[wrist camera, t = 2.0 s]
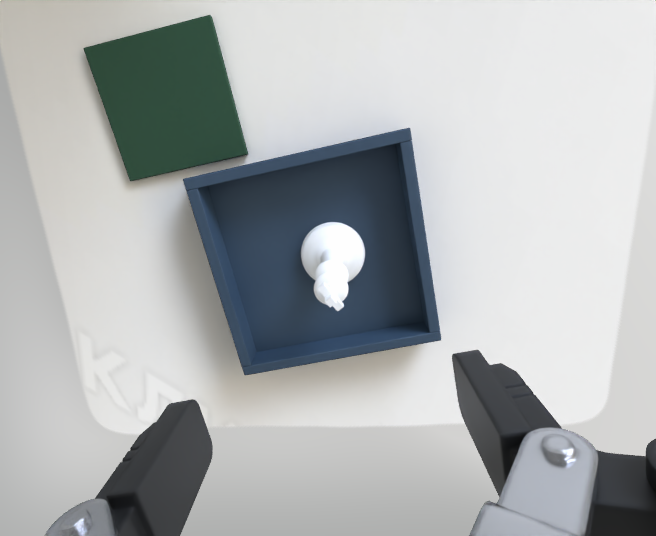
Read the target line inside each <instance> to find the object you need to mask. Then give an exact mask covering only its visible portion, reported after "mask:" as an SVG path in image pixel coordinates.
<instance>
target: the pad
mask: <svg viewBox="0 0 656 536" xmlns="http://www.w3.org/2000/svg"><path fill="white" fill-rule="evenodd" d="M84 51H85V54H86V57H87V60H88V62H89V65H90V68H91V71H92V74H93V77H94V79H95V82H96V85H97V88H98V91H99V94H100V97H101V99H102V102H103V105H104V108H105V111H106V114H107V116H108V119H109V122H110V125H111V128H112V131H113V133H114V136H115V139H116V142H117V145H118V148H119V150H120V153H121V156H122V159H123V162H124V165H125V167H126V170H127V173H128V176H129V179H130V181H134V180H138V179H142V178H147V177H151V176H155V175H160V174H164V173H169V172H173V171H177V170H182V169H186V168H190V167H195V166H199V165H204V164H208V163H212V162H217V161H221V160H225V159H230V158H234V157H238V156H243V155H247V154H248V152H247V148H246V144H245V141H244V137H243V133H242V129H241V125H240V122H239V118H238V114H237V110H236V107H235V103H234V99H233V95H232V91H231V88H230V84H229V80H228V76H227V72H226V69H225V65H224V61H223V57H222V53H221V50H220V46H219V42H218V38H217V34H216V31H215V27H214V23H213V19H212V17H211V15H208V16H204V17H200V18H196V19H192V20H189V21H185V22H181V23H177V24H173V25H170V26H166V27H162V28H158V29H154V30H151V31H147V32H143V33H139V34H135V35H132V36H128V37H124V38H120V39H116V40H113V41H109V42H105V43H101V44H97V45H94V46H90V47H86V48H84Z"/></svg>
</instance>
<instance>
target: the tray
mask: <svg viewBox="0 0 656 536" xmlns="http://www.w3.org/2000/svg"><path fill="white" fill-rule="evenodd" d="M411 140H412V138H411V131H410V128H406V129H402V130H397V131H393V132H388V133H384V134H380V135H375V136H371V137H366V138H362V139H357V140H353V141H349V142H344V143H340V144H335V145H331V146H327V147H322V148H318V149H313V150H309V151H305V152H300V153H296V154H291V155H287V156H283V157H278V158H274V159H269V160H265V161H260V162H256V163H252V164H247V165H243V166H238V167H234V168H230V169H225V170H221V171H216V172H212V173H208V174H203V175H199V176H194V177H190V178H186V179H183V181H184V185H185V188H186V190H187V194H188V197H189V200H190V204H191V207H192V210H193V213H194V216H195V220H196V223H197V226H198V229H199V232H200V235H201V239H202V242H203V245H204V248H205V251H206V254H207V258H208V261H209V264H210V267H211V270H212V274H213V277H214V280H215V283H216V286H217V289H218V293H219V296H220V299H221V302H222V305H223V308H224V312H225V315H226V318H227V321H228V324H229V328H230V331H231V334H232V337H233V340H234V343H235V347H236V350H237V353H238V356H239V359H240V363H241V366H242V368H243V371H244V375H250V374H255V373H261V372H266V371H272V370H278V369H283V368H289V367H294V366H300V365H306V364H311V363H317V362H322V361H328V360H333V359H339V358H345V357H350V356H356V355H361V354H367V353H373V352H378V351H384V350H389V349H395V348H400V347H406V346H412V345H417V344H423V343H428V342H434V341H440V340H441V334H440V327H439V321H438V314H437V307H436V300H435V294H434V287H433V280H432V273H431V267H430V260H429V253H428V246H427V240H426V233H425V226H424V220H423V213H422V206H421V199H420V193H419V186H418V179H417V172H416V166H415V159H414V152H413V145H412V141H411ZM328 222H338V223H342V224H345V225H347V226H349V227H351V228H352V229H354V230H355V231H356V232H357V233H358V234H359V236H360V237H361V239H362V241H363V244H364V247H365V259H364V263H363V266H362V268H361V270H360V272H359V273H358V274H357V275H356V276H355V277H354V278H353V279H352V280H350V281H349V282H347V284H348V294H347V296H346V298H345V299H344V300H343V301H342V303H343V304H344V307H343V308H342V309H340V310H339V311H337V310H336V309H335V308H334V307H333V306H332V307H329V306H328V305H326V304H323V303H321V302H320V301H319V300H318V299H317V298H316V296H315V293H314V284H315V281H316V280H314V279H313V278H312V277H310V276H309V274H308V273H307V272H306V270H305V268H304V266H303V263H302V259H301V247H302V244H303V241H304V239H305V237H306V236H307V234H308V233H309V232H310V231H311V230H312V229H314V228H315V227H317V226H318V225H321V224H324V223H328Z"/></svg>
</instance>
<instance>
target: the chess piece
mask: <svg viewBox="0 0 656 536" xmlns="http://www.w3.org/2000/svg"><path fill="white" fill-rule="evenodd" d="M301 259H302V263H303V266H304V268H305V270H306V272H307V273H308V274H309V276H310V277H312V278H313V279H314V280H316V281H315V284H314V293H315V296H316V298H317V299H318V300H319V301H320V302H321V303H323V304H326V305H328V306H329V307H332V306H333V307H334V308H335V309H336V310H337V311H339V310H340V309H342V308H343V307H344V304H343V303H342V301H343V300H344V299H345V298H346V296H347V294H348V284H347V282H349V281H350V280H352V279H353V278H354V277H355V276H356V275H357V274H358V273H359V272H360V270H361V268H362V266H363V263H364V259H365V247H364V244H363V241H362V239H361V237H360V236H359V234H358V233H357V232H356V231H355V230H354V229H352V228H351V227H349V226H347V225H345V224H342V223H338V222H328V223H324V224H321V225H318V226H317V227H315V228H314V229H312V230H311V231H310V232H309V233H308V234H307V236H306V237H305V239H304V241H303V244H302V247H301Z"/></svg>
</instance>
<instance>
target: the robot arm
mask: <svg viewBox="0 0 656 536" xmlns="http://www.w3.org/2000/svg"><path fill="white" fill-rule="evenodd" d="M452 362H453V369H454V375H455V382H456V389H457V396H458V402H459V406H460V410H461V414H462V417H463V419H464V422H465V424H466V426H467V428H468V430H469V432H470V435H471V437H472V439H473V441H474V443H475V446H476V448H477V450H478V452H479V454H480V456H481V458H482V461H483V463H484V465H485V467H486V469H487V471H488V474H489V476H490V478H491V480H492V482H493V484H494V486H495V489H496V491H497V493H498V495H499V500H498V502H497V503H496V504H495V503H493V502H490V501H487V502H486V503H484V505H483V506H482V508H481V510H480V512H479V514H478V517H477V519H476V521H475V524H474V526H473V528H472V530H471V533H470V535H469V536H656V439H654V440H653V441H651V442H650V443H649V444H648V445H647V448H646V456H635V455H623V454H613V453H605V452H601V451H597V450H596V449H595V448H594V446H593V445H592V444H591V443H590V442H589V441H588V440H586V439H585V438H583V437H582V436H580V435H578V434H576V433H574V432H571V431H568V430H565V429H562V428H561V427H560V425H559V424H558V423H557V422H556V420H555V419H554V418H553V417H552V415H551V414H550V413H549V412H548V410H547V409H546V408H545V407H544V405H543V404H542V403H541V402H540V400H539V399H538V398H537V397H536V396H535V395H534V394H533V392H532V391H531V389H530V388H529V387H528V386H527V385H526V384H525V382H524V381H523V379H522V378H521V377H520V376H519V374H518V373H517V372H516V371H514V370H512V369H511V368H509V367H507V366H505V365H503V364H501V363H500V364H494V365H489V364H488V363H487V361H486V360H485V358H484V357H483V356H482V354H481V353H480V351H479V350H473V351H468V352H462V353H456V354H453V355H452ZM211 459H212V441H211V438H210V435H209V433H208V430H207V427H206V424H205V421H204V418H203V415H202V413H201V410H200V407H199V404H198V403H197V401H195V400H187V401H182V402H176V403H171V404H169V405H168V406H167V407H166V409H165V410H164V412H163V413H162V415H161V416H160V418H159V419H158V420H157V422H155V423H153V424H152V425H151V426H150V427H149V428H147V429H146V430H145V431H144V432H143V433H142V434H141V435H140V436H139V437H138V438H137V440H136V441H135V443H134V444H133V446H132V447H131V450H130V451H128V453H127V454H126V455H125V457H124V458H123V462H121V463H120V464H119V465H118V467H117V468H116V470H115V471H114V472H113V474H112V475H111V477H110V478H109V480H108V481H107V482H106V484H105V485H104V487H103V488H102V489H101V491H100V492H99V494H98V495H97V496H96V498H95V499H91V500H88V501H85V502H83V503H80V504H79V505H77V506H75V507H73V508H71V509H70V510H68V511H67V512H66V513H64V514H63V515H62V516H61V517H59V518H58V519H57V520H56V521H55V522H54V523H53V524H52V526H51V527H50V528H49V529H48V531H47V532H46V534H45V536H180V534H181V532H182V529H183V527H184V525H185V522H186V520H187V518H188V515H189V513H190V510H191V508H192V505H193V503H194V501H195V498H196V496H197V493H198V491H199V489H200V486H201V484H202V481H203V479H204V477H205V474H206V472H207V470H208V467H209V465H210V462H211Z"/></svg>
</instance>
